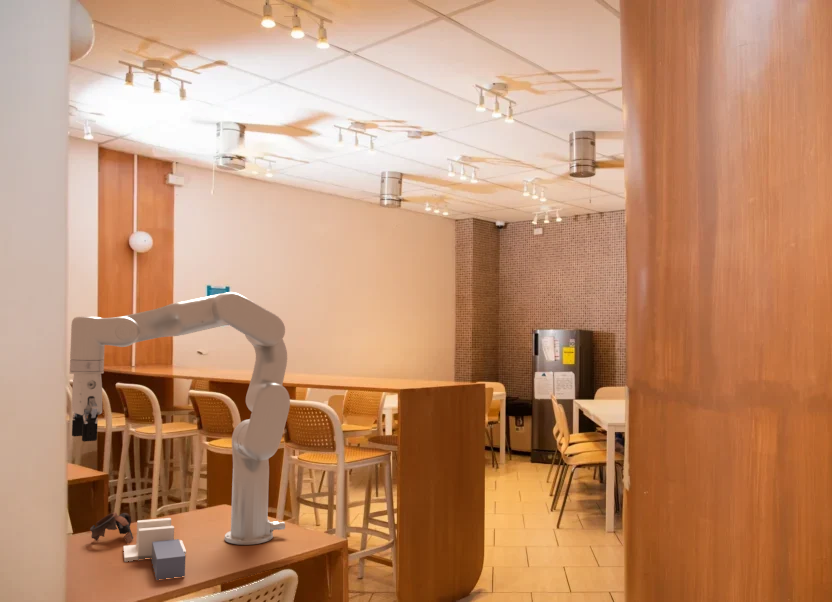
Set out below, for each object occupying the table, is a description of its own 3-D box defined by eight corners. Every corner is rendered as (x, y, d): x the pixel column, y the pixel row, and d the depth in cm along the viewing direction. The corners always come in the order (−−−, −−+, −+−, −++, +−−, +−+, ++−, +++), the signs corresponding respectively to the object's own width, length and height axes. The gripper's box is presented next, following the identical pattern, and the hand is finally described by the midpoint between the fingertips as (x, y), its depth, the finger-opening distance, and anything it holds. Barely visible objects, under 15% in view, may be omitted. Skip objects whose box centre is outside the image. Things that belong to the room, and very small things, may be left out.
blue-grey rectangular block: (177, 560, 169) (178, 539, 169) (184, 578, 156) (185, 556, 156) (151, 563, 166) (152, 541, 166) (156, 582, 154) (157, 559, 154)
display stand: (181, 544, 181) (182, 516, 181) (186, 555, 171) (187, 526, 172) (123, 549, 175) (124, 521, 175) (124, 561, 166) (125, 532, 166)
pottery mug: (126, 549, 177) (109, 522, 176) (95, 563, 179) (78, 536, 178) (147, 524, 189) (131, 499, 188) (118, 538, 191) (102, 512, 189)
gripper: (113, 368, 165) (110, 441, 164) (93, 365, 178) (91, 433, 177) (79, 369, 160) (76, 444, 159) (61, 366, 174) (58, 435, 173)
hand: (84, 438), depth 168 cm, fingers open, 9 cm apart
